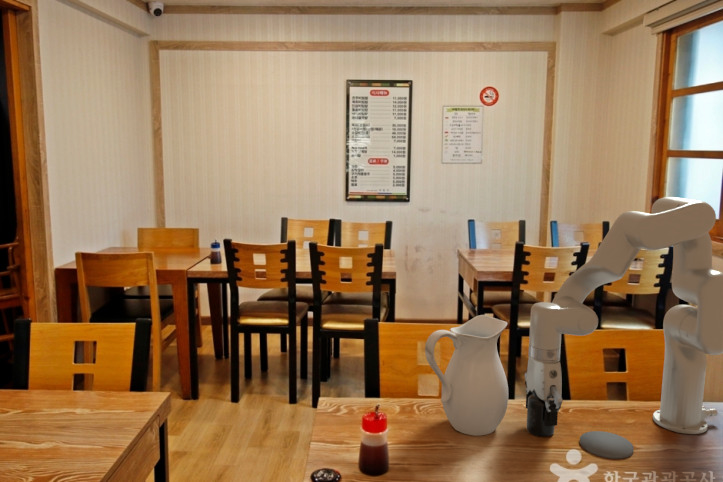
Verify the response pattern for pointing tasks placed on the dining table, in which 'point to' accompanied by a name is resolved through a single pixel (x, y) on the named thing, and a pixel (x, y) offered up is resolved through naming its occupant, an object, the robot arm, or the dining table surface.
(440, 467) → the dining table surface
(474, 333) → the pitcher
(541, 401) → the supplement bottle
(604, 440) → the coaster
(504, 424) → the dining table surface
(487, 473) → the dining table surface
